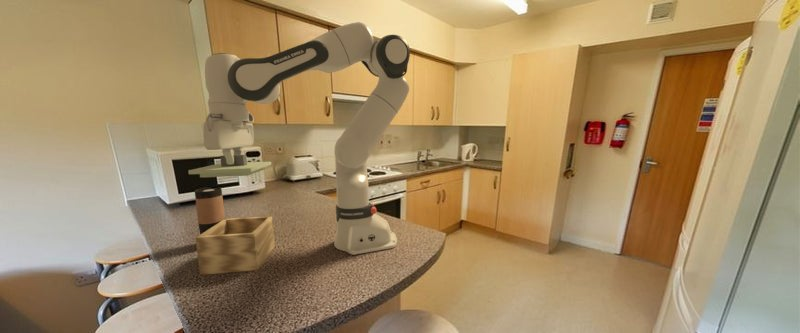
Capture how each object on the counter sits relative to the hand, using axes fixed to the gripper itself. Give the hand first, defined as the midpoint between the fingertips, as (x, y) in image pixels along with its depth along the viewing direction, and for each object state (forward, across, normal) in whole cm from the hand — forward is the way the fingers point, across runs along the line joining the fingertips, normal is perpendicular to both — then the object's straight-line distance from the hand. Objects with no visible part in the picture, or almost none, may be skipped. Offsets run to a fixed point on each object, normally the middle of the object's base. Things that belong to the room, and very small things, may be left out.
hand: (234, 163), depth 72 cm
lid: (+3, 0, 0) cm, 3 cm away
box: (+31, +2, +2) cm, 31 cm away
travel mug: (+31, +16, +17) cm, 39 cm away
